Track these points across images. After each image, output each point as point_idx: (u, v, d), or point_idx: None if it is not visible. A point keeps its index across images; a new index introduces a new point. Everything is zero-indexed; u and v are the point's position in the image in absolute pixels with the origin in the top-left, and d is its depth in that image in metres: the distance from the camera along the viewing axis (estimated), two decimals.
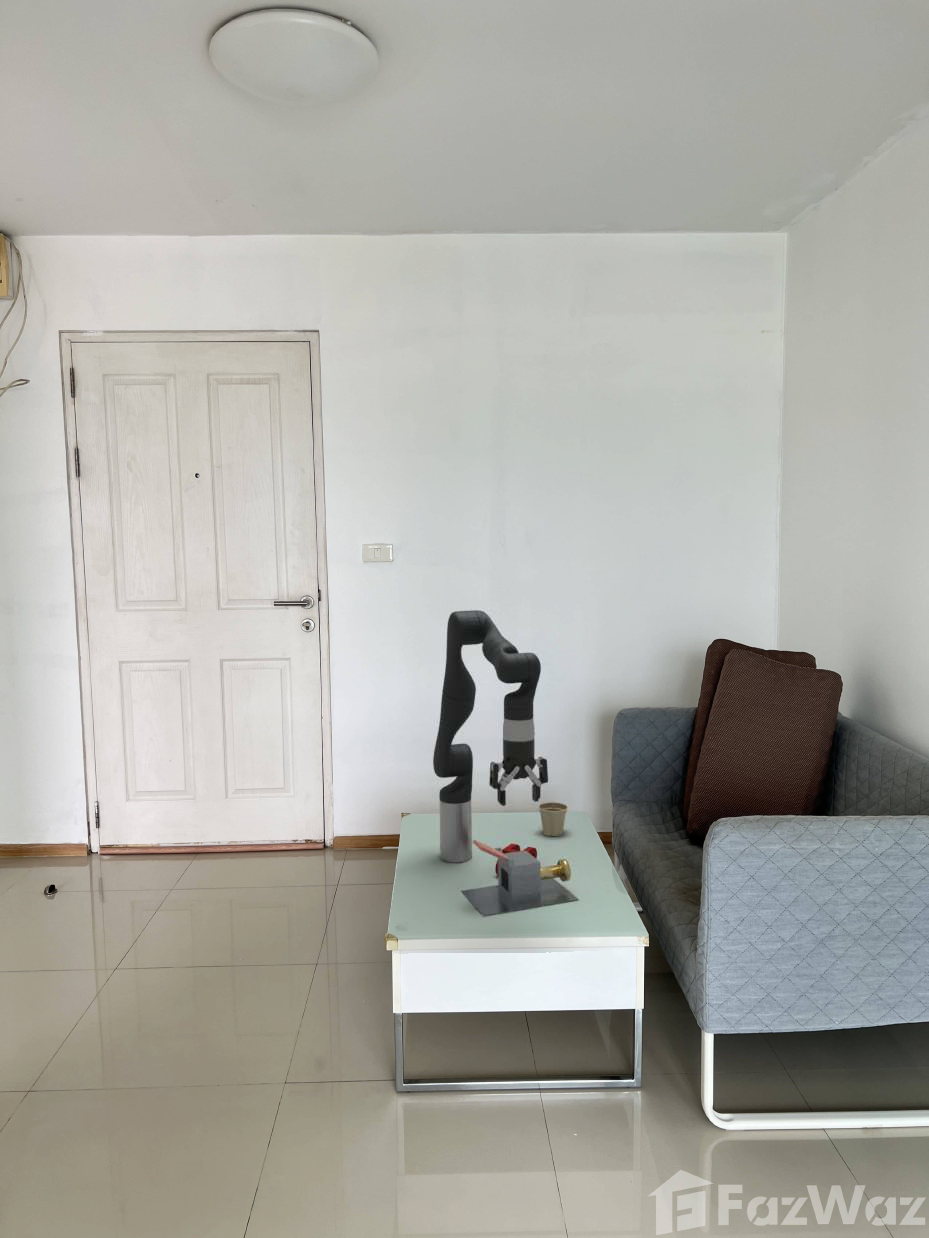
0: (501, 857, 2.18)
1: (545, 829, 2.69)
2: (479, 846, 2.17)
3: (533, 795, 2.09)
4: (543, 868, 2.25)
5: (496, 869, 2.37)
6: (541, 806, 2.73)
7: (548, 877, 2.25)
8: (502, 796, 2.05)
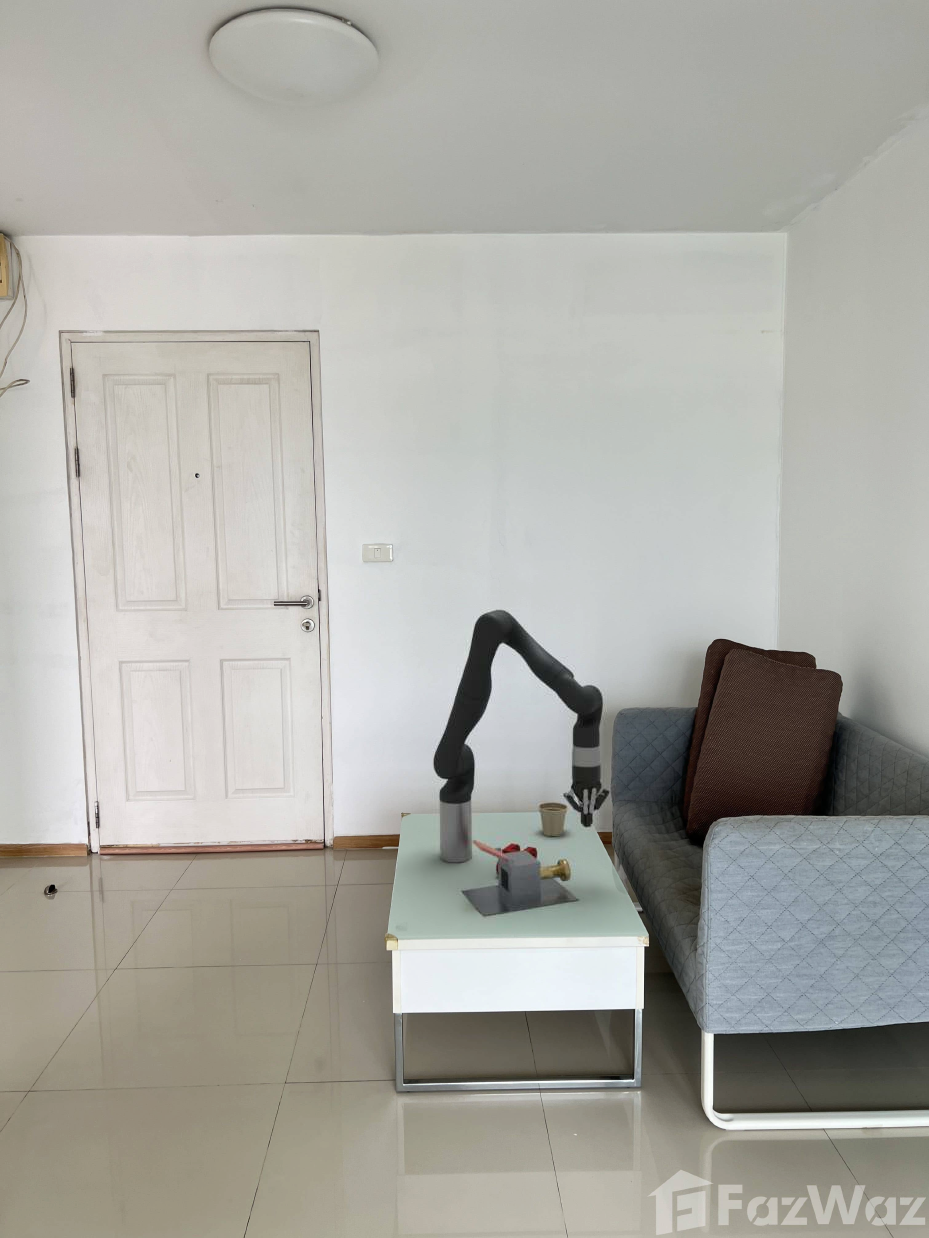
0: (501, 857, 2.18)
1: (545, 829, 2.69)
2: (479, 846, 2.17)
3: None
4: (543, 868, 2.25)
5: (497, 869, 2.36)
6: (541, 806, 2.73)
7: (548, 877, 2.25)
8: (585, 818, 2.28)
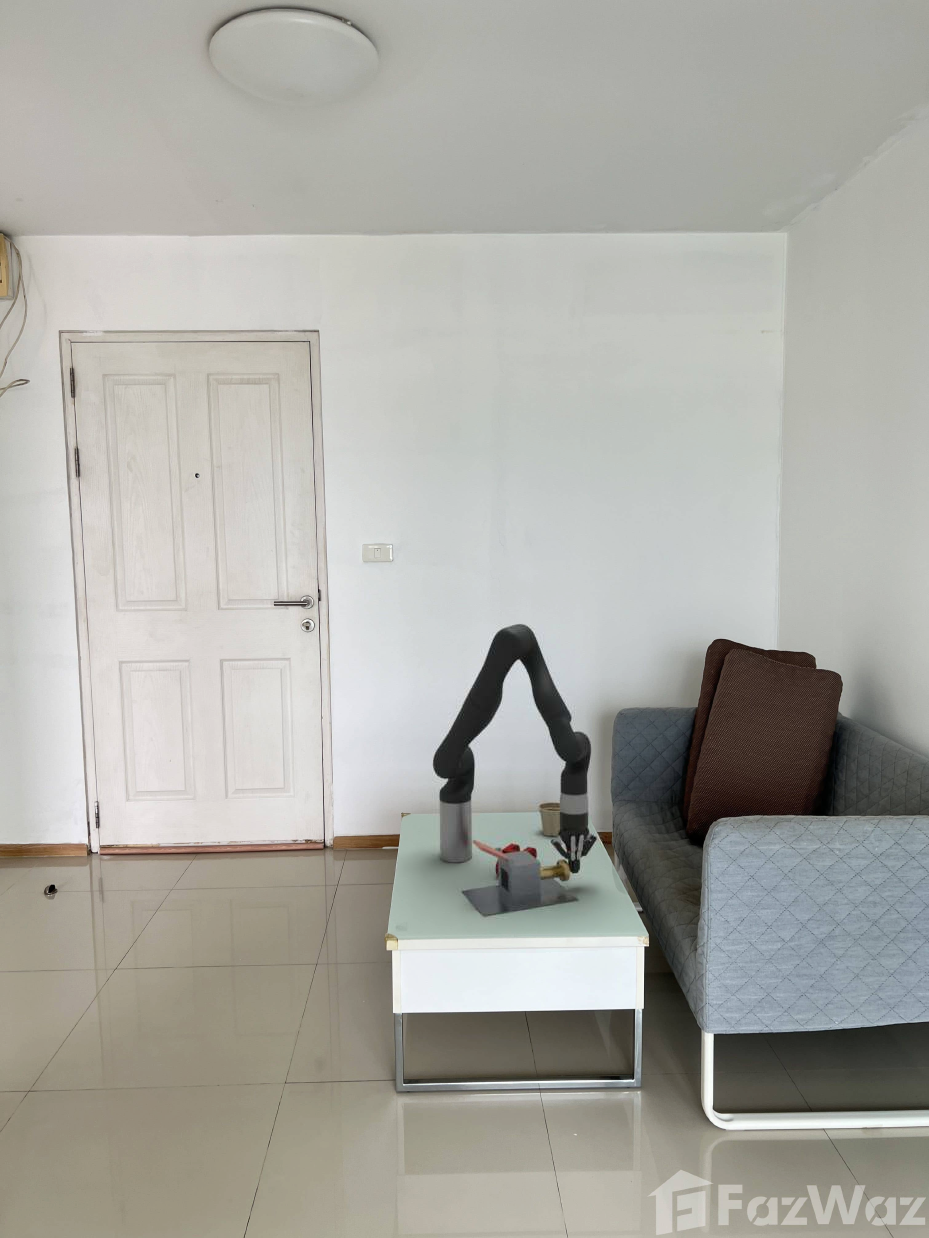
0: (501, 857, 2.18)
1: (545, 829, 2.69)
2: (479, 846, 2.17)
3: None
4: (542, 868, 2.25)
5: (496, 869, 2.36)
6: (541, 806, 2.73)
7: (547, 877, 2.25)
8: (573, 865, 2.28)
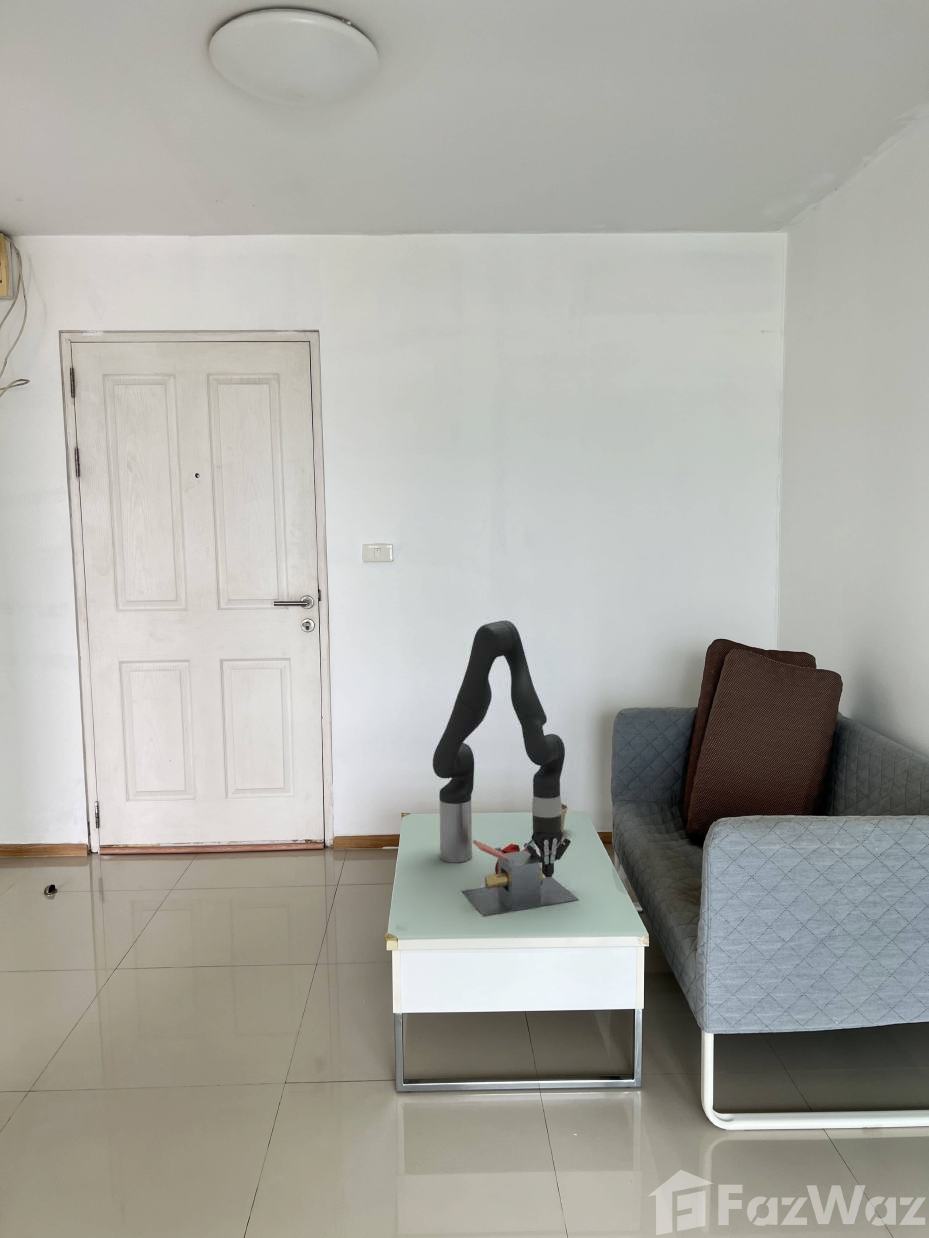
0: (501, 857, 2.18)
1: None
2: (479, 846, 2.17)
3: None
4: None
5: (496, 869, 2.36)
6: None
7: None
8: (546, 869, 2.25)
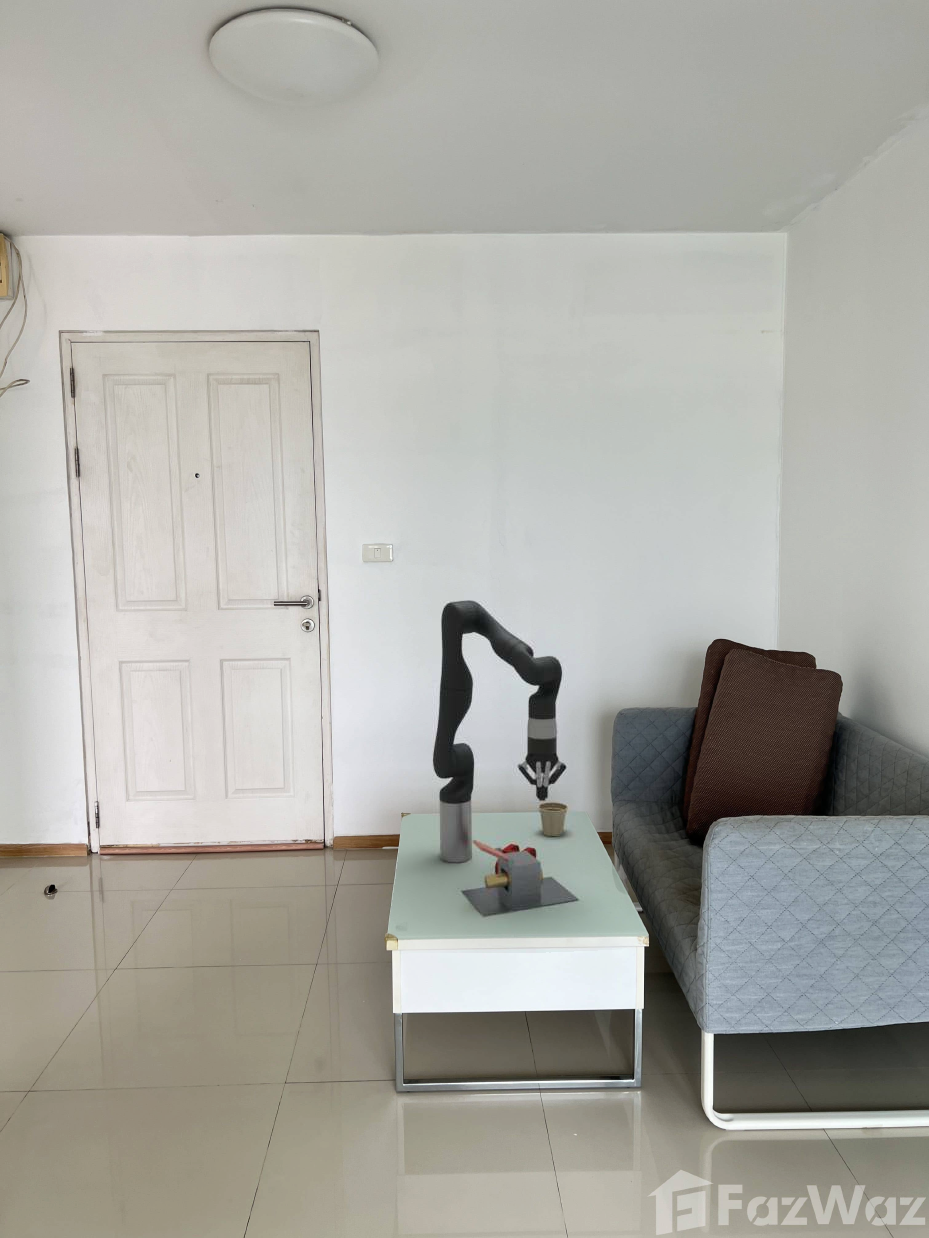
0: (501, 857, 2.18)
1: (545, 829, 2.69)
2: (479, 846, 2.17)
3: None
4: None
5: (496, 870, 2.36)
6: (541, 806, 2.73)
7: None
8: (539, 792, 2.23)
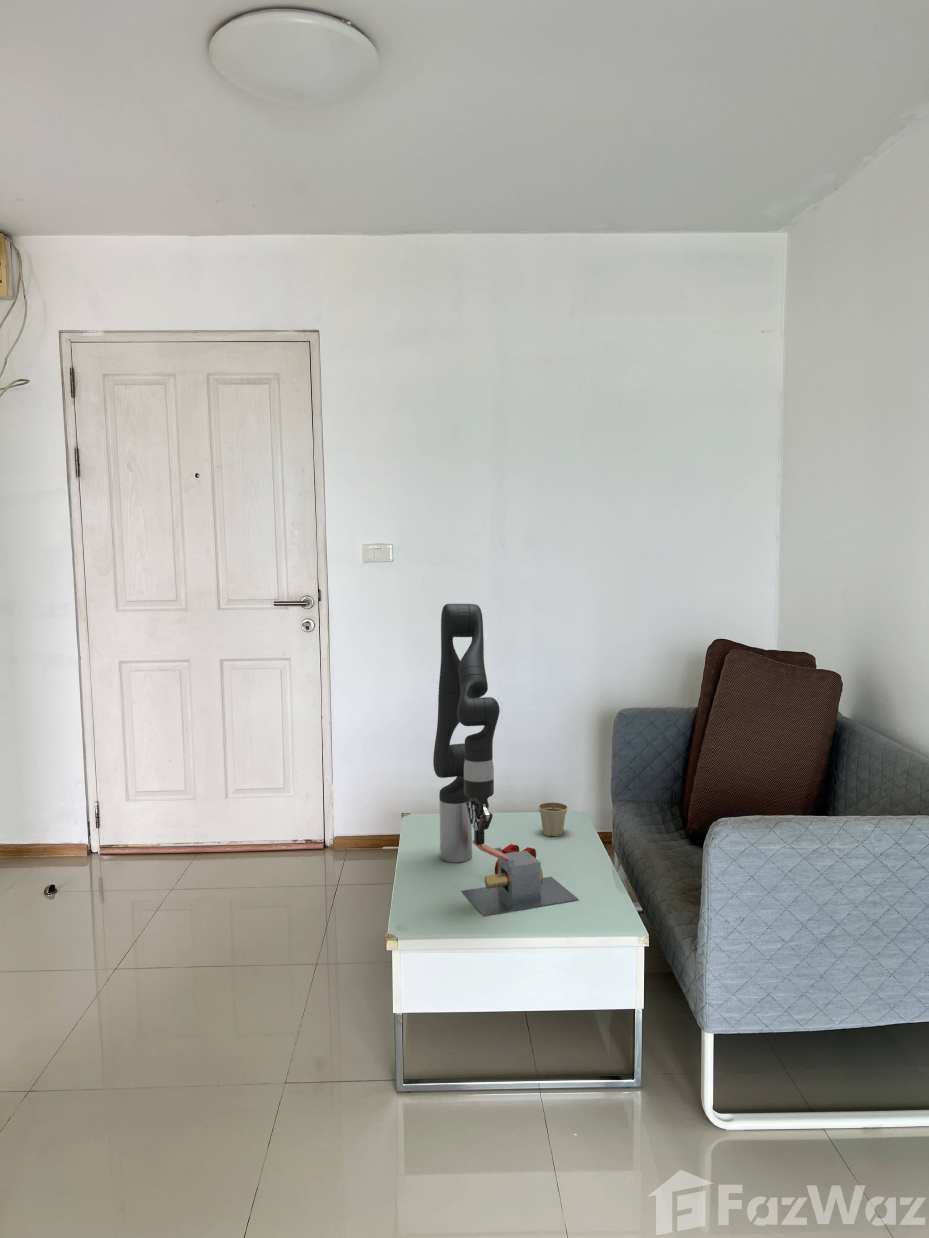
0: (501, 857, 2.18)
1: (545, 829, 2.69)
2: (479, 846, 2.17)
3: None
4: None
5: (495, 870, 2.36)
6: (541, 806, 2.73)
7: None
8: None
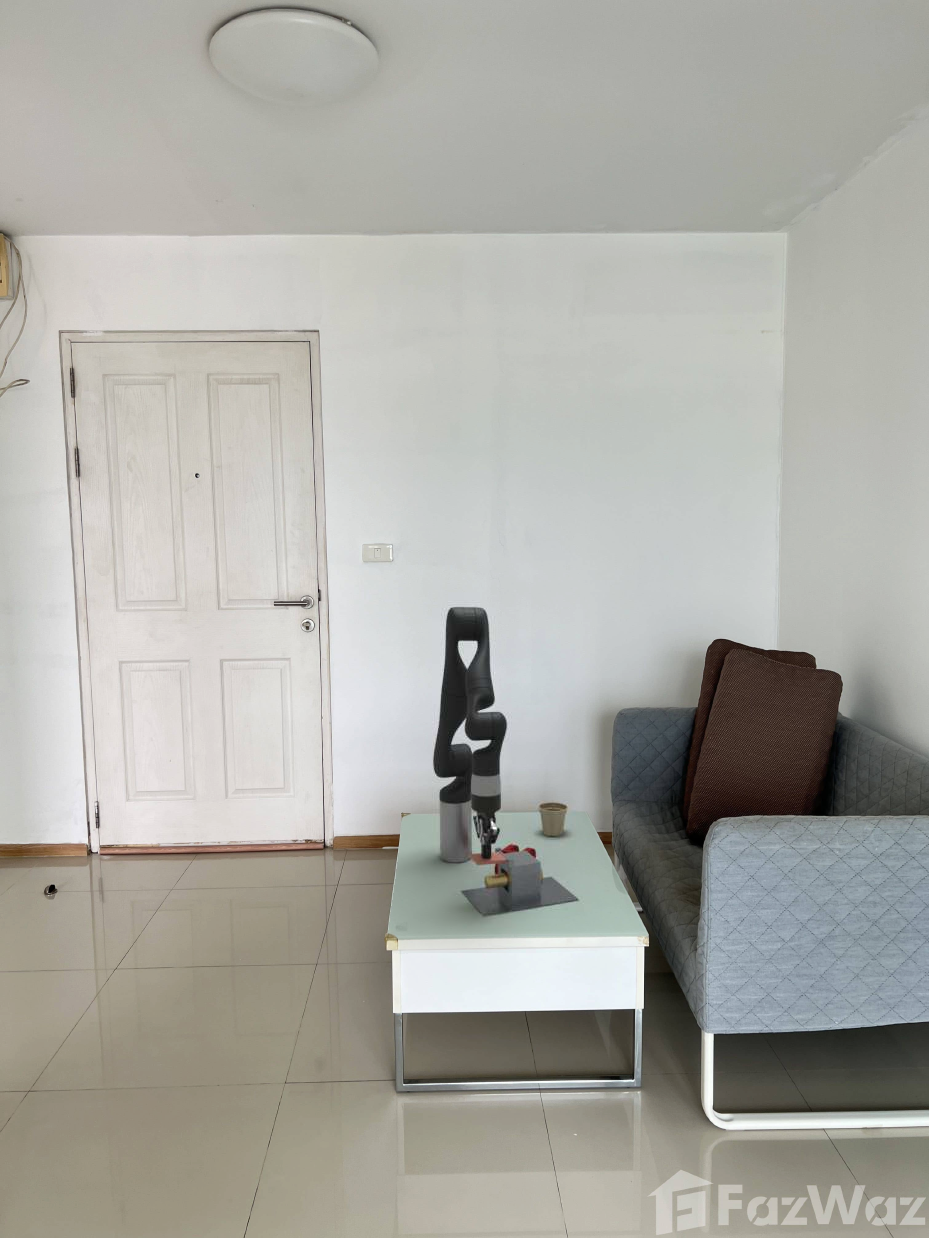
0: (500, 861, 2.18)
1: (545, 829, 2.69)
2: (475, 861, 2.17)
3: None
4: None
5: (495, 870, 2.36)
6: (541, 806, 2.73)
7: None
8: None
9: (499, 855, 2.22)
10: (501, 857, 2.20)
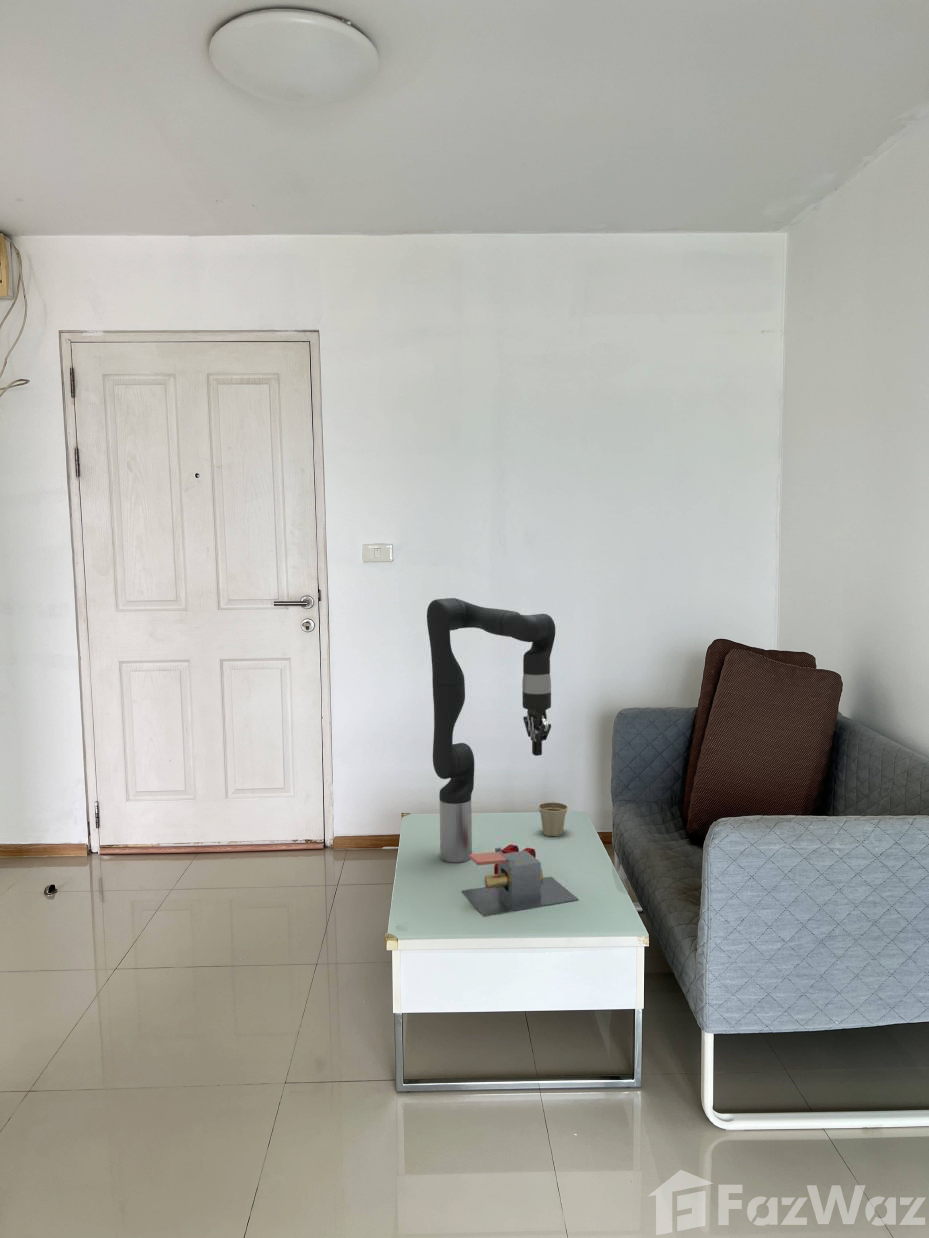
0: (500, 861, 2.18)
1: (545, 829, 2.69)
2: (475, 861, 2.17)
3: None
4: None
5: (495, 870, 2.36)
6: (541, 806, 2.73)
7: None
8: None
9: (499, 855, 2.22)
10: (501, 857, 2.20)
